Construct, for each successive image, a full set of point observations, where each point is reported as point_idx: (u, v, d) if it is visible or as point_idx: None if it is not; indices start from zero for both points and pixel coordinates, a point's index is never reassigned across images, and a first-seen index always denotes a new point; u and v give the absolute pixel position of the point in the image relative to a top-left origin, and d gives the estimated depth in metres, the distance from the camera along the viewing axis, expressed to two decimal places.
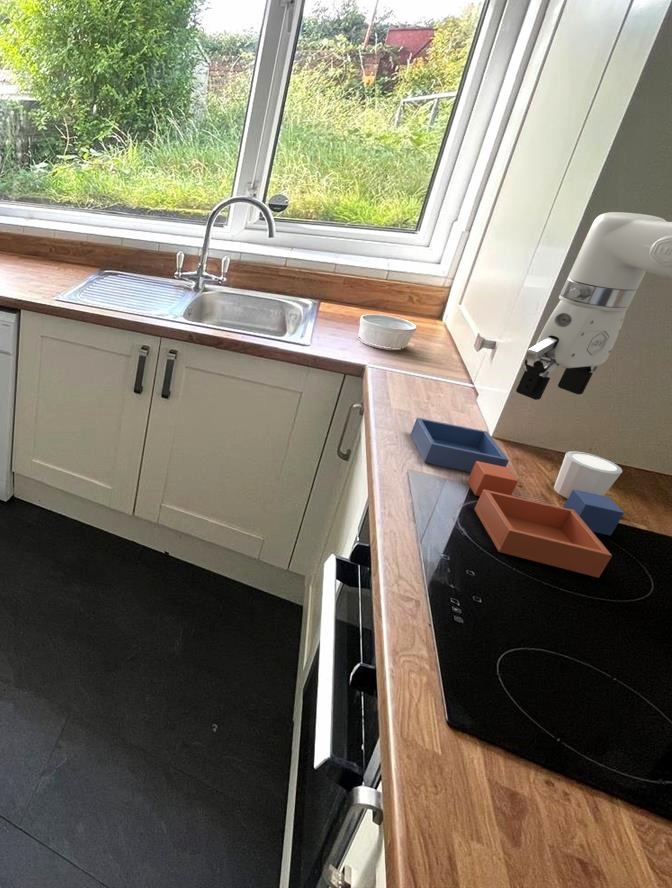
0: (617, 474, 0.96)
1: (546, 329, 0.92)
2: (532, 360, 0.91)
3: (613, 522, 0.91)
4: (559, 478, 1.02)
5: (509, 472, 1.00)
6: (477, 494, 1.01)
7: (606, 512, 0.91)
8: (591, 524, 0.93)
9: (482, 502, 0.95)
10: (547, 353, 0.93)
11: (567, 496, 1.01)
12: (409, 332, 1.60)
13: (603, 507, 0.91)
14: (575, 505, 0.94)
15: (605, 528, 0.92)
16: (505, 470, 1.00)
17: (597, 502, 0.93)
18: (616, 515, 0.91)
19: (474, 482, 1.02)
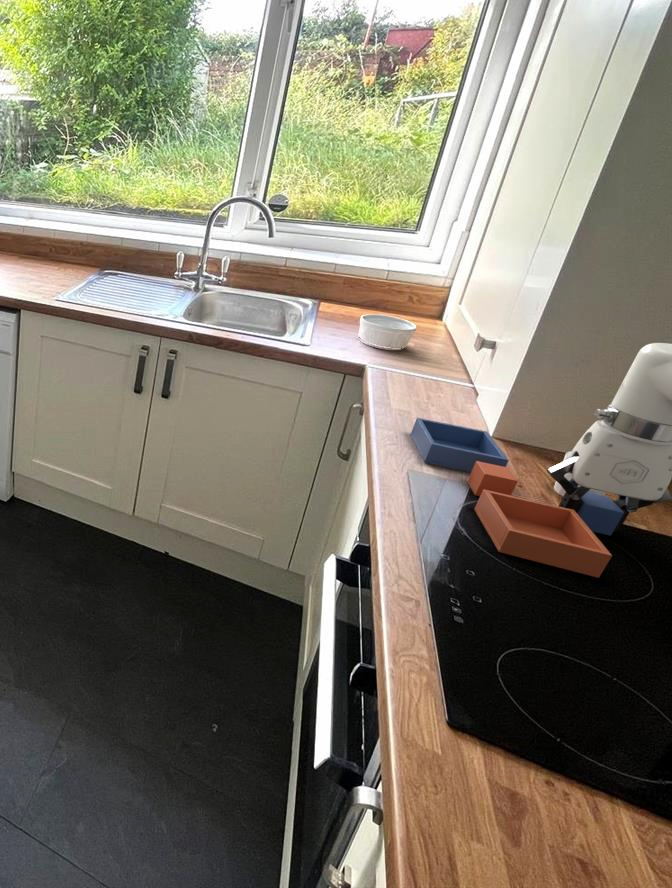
0: None
1: (576, 445, 0.93)
2: None
3: (613, 522, 0.91)
4: None
5: (509, 472, 1.00)
6: (477, 494, 1.01)
7: (606, 512, 0.91)
8: (591, 524, 0.93)
9: (482, 502, 0.95)
10: None
11: None
12: (409, 332, 1.60)
13: (603, 507, 0.91)
14: None
15: (605, 528, 0.92)
16: (505, 470, 1.00)
17: (597, 502, 0.93)
18: (616, 515, 0.91)
19: (474, 482, 1.02)
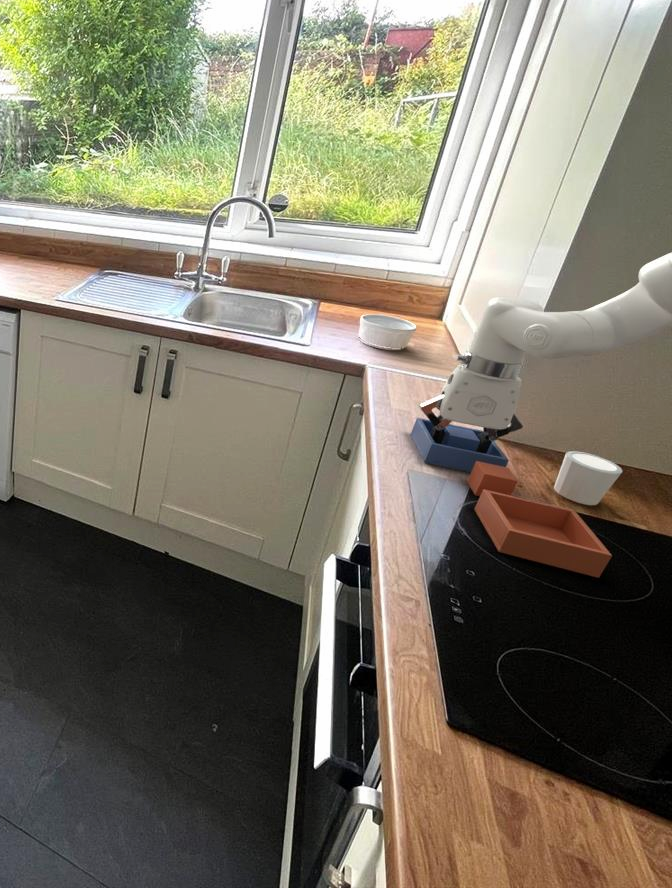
0: (617, 474, 0.96)
1: (444, 386, 1.11)
2: (424, 413, 1.12)
3: (472, 450, 1.09)
4: (559, 478, 1.02)
5: (509, 472, 1.00)
6: (477, 494, 1.01)
7: (466, 441, 1.09)
8: None
9: (482, 502, 0.95)
10: None
11: (567, 496, 1.01)
12: (409, 332, 1.60)
13: (464, 437, 1.09)
14: (444, 437, 1.12)
15: None
16: (505, 470, 1.00)
17: (460, 433, 1.10)
18: (474, 443, 1.09)
19: (474, 482, 1.02)
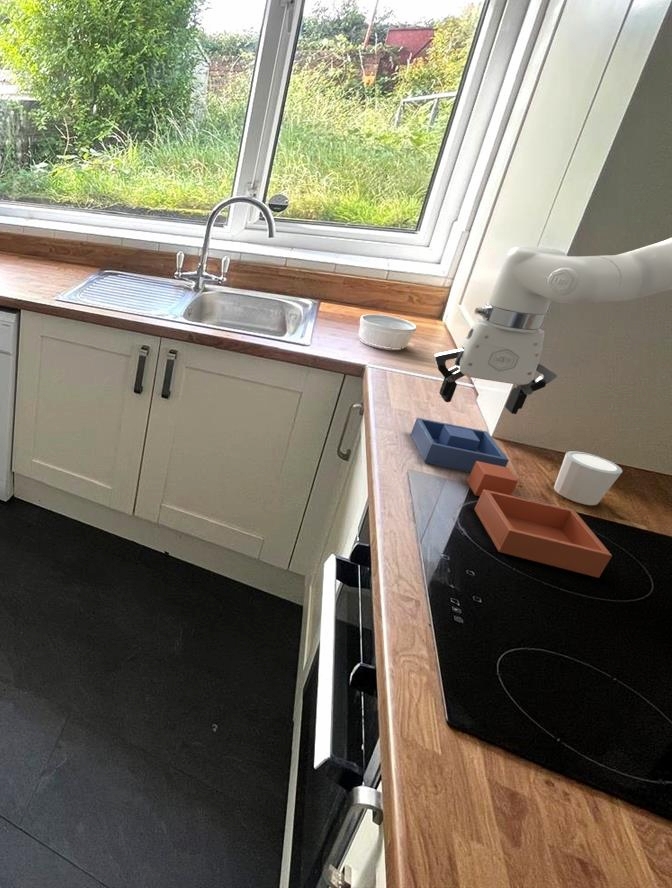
0: (617, 474, 0.96)
1: (463, 342, 1.07)
2: (436, 363, 1.08)
3: (472, 450, 1.09)
4: (559, 478, 1.02)
5: (509, 472, 1.00)
6: (477, 494, 1.01)
7: (466, 441, 1.09)
8: None
9: (482, 502, 0.95)
10: None
11: (567, 496, 1.01)
12: (409, 332, 1.60)
13: (464, 437, 1.09)
14: (444, 437, 1.12)
15: None
16: (505, 470, 1.00)
17: (460, 433, 1.10)
18: (474, 443, 1.09)
19: (474, 482, 1.02)
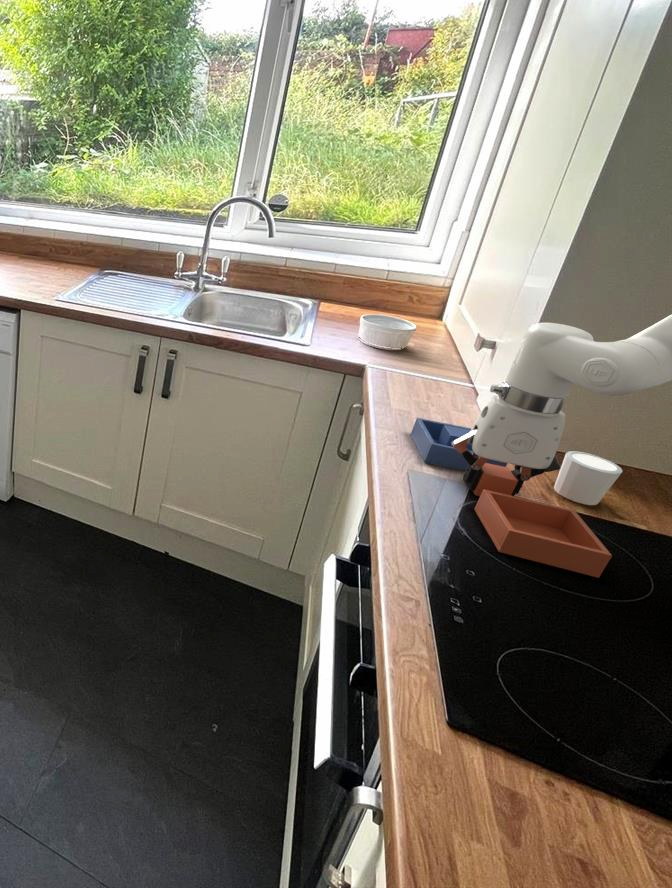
0: (617, 474, 0.96)
1: (477, 419, 1.00)
2: (458, 451, 1.01)
3: (472, 450, 1.09)
4: (559, 478, 1.02)
5: (509, 472, 1.00)
6: (477, 494, 1.01)
7: None
8: None
9: (482, 502, 0.95)
10: None
11: (567, 496, 1.01)
12: (409, 332, 1.60)
13: None
14: (444, 437, 1.12)
15: None
16: (505, 470, 1.00)
17: (460, 433, 1.10)
18: None
19: None
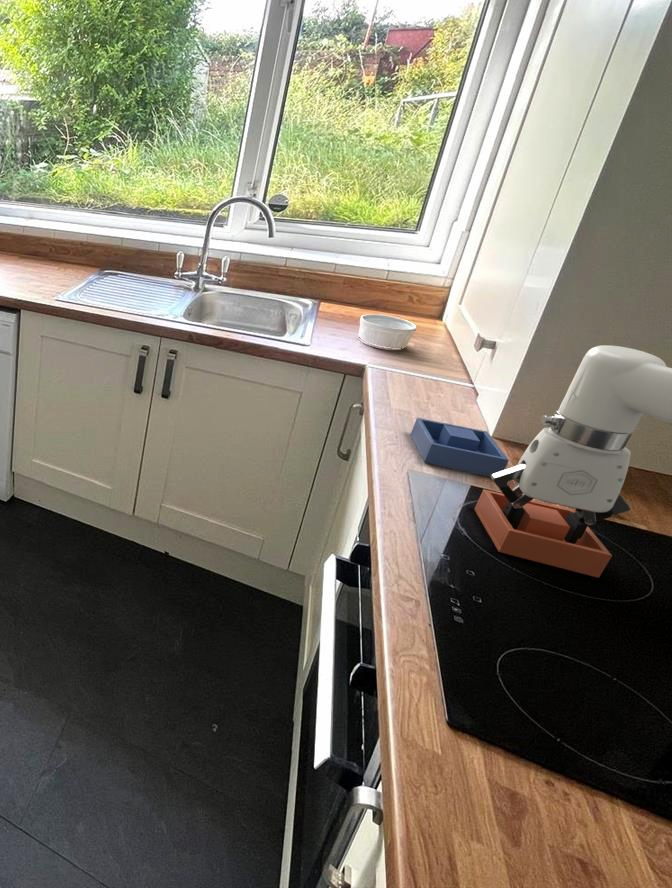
0: None
1: (524, 453, 0.88)
2: None
3: (472, 450, 1.09)
4: None
5: (559, 516, 0.88)
6: None
7: (466, 441, 1.09)
8: None
9: (482, 502, 0.95)
10: None
11: None
12: (409, 332, 1.60)
13: (464, 437, 1.09)
14: (444, 437, 1.12)
15: None
16: (554, 513, 0.89)
17: (460, 433, 1.10)
18: (474, 443, 1.09)
19: (518, 526, 0.90)
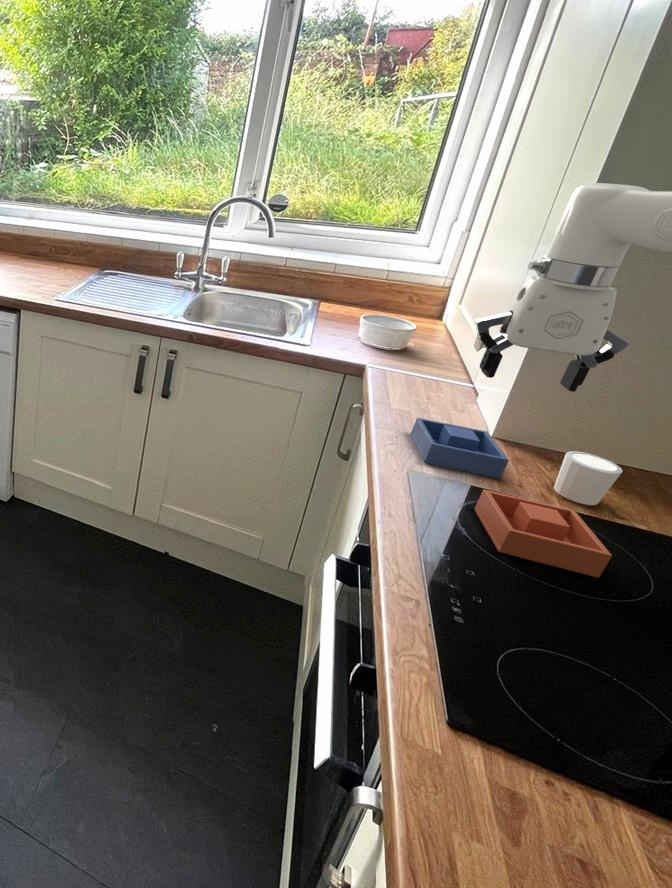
0: (617, 474, 0.96)
1: None
2: (478, 331, 0.90)
3: (472, 450, 1.09)
4: (559, 478, 1.02)
5: (559, 516, 0.88)
6: None
7: (466, 441, 1.09)
8: None
9: (482, 502, 0.95)
10: None
11: (567, 496, 1.01)
12: (409, 332, 1.60)
13: (464, 437, 1.09)
14: (444, 437, 1.12)
15: None
16: (554, 513, 0.89)
17: (460, 433, 1.10)
18: (474, 443, 1.09)
19: (518, 526, 0.90)
